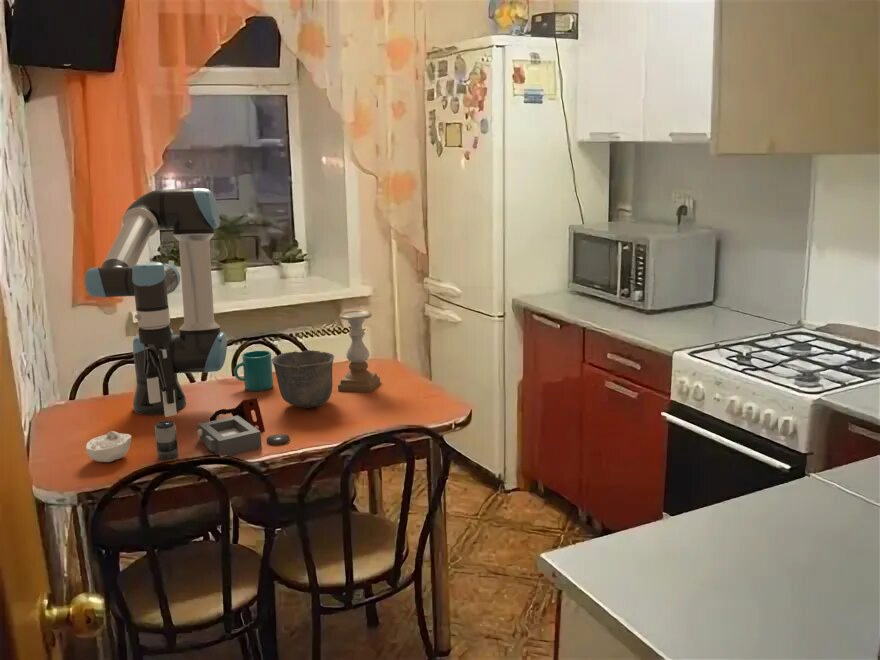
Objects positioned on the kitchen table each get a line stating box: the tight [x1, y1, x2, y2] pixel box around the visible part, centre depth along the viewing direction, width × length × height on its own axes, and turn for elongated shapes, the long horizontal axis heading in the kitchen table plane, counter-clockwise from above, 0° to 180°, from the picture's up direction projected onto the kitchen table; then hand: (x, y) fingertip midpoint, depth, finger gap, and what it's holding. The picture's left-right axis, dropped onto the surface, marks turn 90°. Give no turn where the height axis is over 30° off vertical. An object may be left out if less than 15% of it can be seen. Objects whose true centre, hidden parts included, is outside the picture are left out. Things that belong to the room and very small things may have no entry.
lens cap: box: [266, 433, 291, 446], centre depth 221 cm, size 6×6×1 cm
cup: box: [233, 350, 274, 392], centre depth 266 cm, size 9×12×11 cm
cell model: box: [85, 430, 132, 463], centre depth 211 cm, size 10×12×7 cm
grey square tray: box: [197, 415, 263, 457], centre depth 219 cm, size 16×12×4 cm
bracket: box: [209, 397, 266, 433], centre depth 233 cm, size 10×14×10 cm
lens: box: [154, 420, 179, 462], centre depth 211 cm, size 5×5×9 cm
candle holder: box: [337, 310, 381, 393], centre depth 264 cm, size 11×11×24 cm
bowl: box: [271, 349, 335, 409], centre depth 247 cm, size 18×18×15 cm
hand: (162, 408), depth 209 cm, fingers open, 13 cm apart
